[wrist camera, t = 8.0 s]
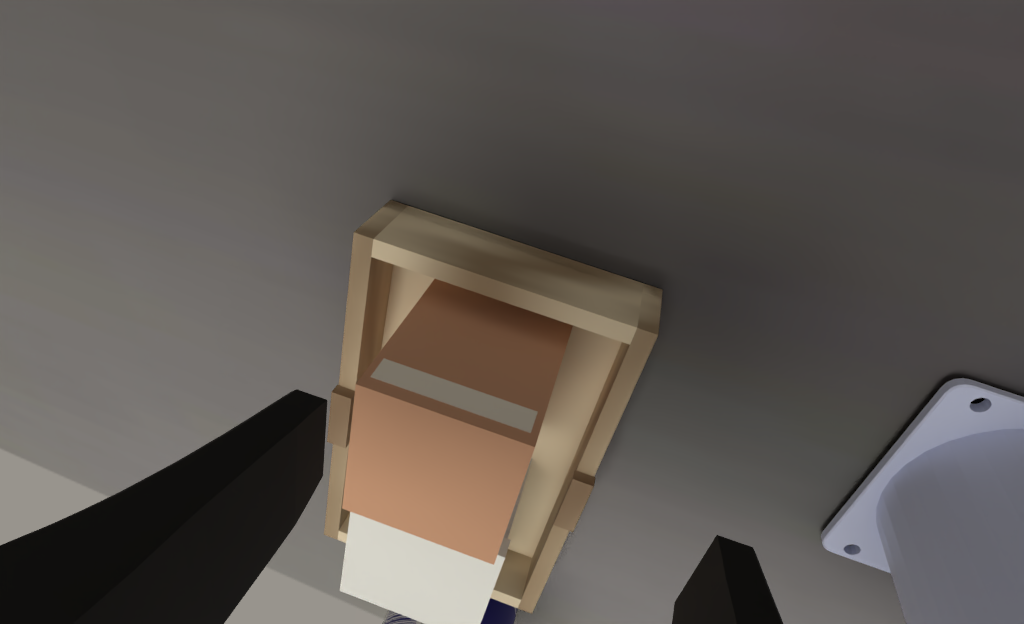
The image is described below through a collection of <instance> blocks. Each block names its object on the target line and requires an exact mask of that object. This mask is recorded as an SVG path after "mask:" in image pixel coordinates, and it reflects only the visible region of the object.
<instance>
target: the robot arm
mask: <svg viewBox="0 0 1024 624" xmlns="http://www.w3.org/2000/svg"><path fill="white" fill-rule="evenodd" d="M978 398H985V400H983V401H982V402H981V403H977V404H972V403H971V402H972V401H973V400H975V399H978ZM326 412H327V400H326V399H323V398H320V397H317V396H314V395H311V394H308V393H305V392H302V391H300V390H297V389H296V390H294V391H292V392H290V393H289V394H287V395H285V396H284V397H282V398H281V399H279V400H277V401H276V402H274V403H273V404H271V405H270V406H268V407H266V408H265V409H263V410H262V411H260V412H258V413H257V414H255V415H254V416H252V417H251V418H249V419H247V420H246V421H244V422H243V423H241V424H239V425H238V426H236V427H234V428H233V429H231V430H230V431H228V432H226V433H225V434H223V435H221V436H220V437H218V438H216V439H215V440H213V441H211V442H209V443H208V444H206V445H204V446H203V447H201V448H199V449H198V450H196V451H194V452H192V453H191V454H189V455H187V456H186V457H184V458H182V459H180V460H179V461H177V462H175V463H173V464H172V465H170V466H168V467H166V468H164V469H162V470H160V471H158V472H157V473H155V474H153V475H151V476H149V477H147V478H145V479H143V480H142V481H140V482H138V483H136V484H134V485H132V486H130V487H129V488H127V489H125V490H123V491H121V492H119V493H117V494H115V495H113V496H111V497H109V498H107V499H105V500H103V501H101V502H99V503H96V504H94V505H92V506H90V507H88V508H86V509H84V510H82V511H79V512H77V513H75V514H73V515H71V516H69V517H67V518H64V519H62V520H60V521H58V522H55V523H53V524H51V525H48V526H46V527H44V528H41V529H39V530H37V531H34V532H32V533H29V534H27V535H24V536H22V537H20V538H17V539H15V540H12V541H10V542H8V543H6V544H3V545H1V546H0V624H224V622H225V621H226V620H227V618H228V617H229V616H230V614H231V613H232V612H233V610H234V609H235V607H236V606H237V605H238V603H239V602H240V600H241V599H242V598H243V596H244V595H245V594H246V592H247V591H248V590H249V588H250V587H251V585H252V584H253V583H254V581H255V580H256V579H257V577H258V576H259V574H260V573H261V572H262V570H263V569H264V568H265V566H266V565H267V564H268V562H269V561H270V559H271V558H272V557H273V555H274V554H275V552H276V551H277V550H278V548H279V547H280V546H281V544H282V543H283V541H284V540H285V539H286V537H287V536H288V534H289V533H290V532H291V530H292V529H293V527H294V526H295V524H296V523H297V521H298V519H299V517H300V516H301V514H302V512H303V510H304V509H305V507H306V505H307V504H308V502H309V500H310V498H311V496H312V495H313V493H314V491H315V489H316V487H317V485H318V484H319V482H320V480H321V478H322V476H323V464H324V447H325V429H326ZM821 539H822V544H823V547H824V548H825V549H826V550H828V551H830V552H832V553H835V554H838V555H841V556H844V557H846V558H849V559H852V560H855V561H858V562H860V563H863V564H866V565H869V566H872V567H874V568H877V569H880V570H883V571H886V572H888V573H891V575H892V578H893V582H894V585H895V588H896V592H897V595H898V598H899V602H900V605H901V608H902V611H903V615H904V618H905V621H906V624H1024V397H1022V396H1019V395H1016V394H1013V393H1010V392H1007V391H1004V390H1001V389H998V388H995V387H992V386H989V385H986V384H983V383H980V382H977V381H973V380H970V379H965V378H958V379H953V380H950V381H948V382H946V383H945V384H944V385H943V386H942V387H941V388H940V389H939V390H938V391H937V393H936V394H935V395H934V396H933V398H932V399H931V400H930V401H929V402H928V404H927V405H926V406H925V407H924V408H923V410H922V411H921V412H920V413H919V415H918V416H917V417H916V418H915V419H914V421H913V422H912V423H911V424H910V426H909V427H908V428H907V429H906V430H905V432H904V433H903V434H902V435H901V437H900V438H899V439H898V440H897V441H896V443H895V444H894V445H893V446H892V447H891V449H890V450H889V451H888V452H887V454H886V455H885V456H884V457H883V458H882V460H881V461H880V462H879V463H878V465H877V466H876V467H875V468H874V469H873V471H872V472H871V473H870V474H869V475H868V477H867V478H866V479H865V480H864V482H863V483H862V484H861V485H860V486H859V488H858V489H857V490H856V491H855V493H854V494H853V495H852V496H851V497H850V499H849V500H848V501H847V502H846V504H845V505H844V506H843V507H842V508H841V510H840V511H839V512H838V513H837V514H836V516H835V517H834V518H833V519H832V521H831V522H830V523H829V524H828V525H827V527H826V528H825V529H824V530H823V532H822V534H821ZM851 544H853V545H851ZM849 545H851V546H849ZM672 624H783V622H782V619H781V617H780V614H779V612H778V609H777V607H776V604H775V602H774V599H773V597H772V594H771V592H770V589H769V587H768V584H767V581H766V579H765V576H764V574H763V571H762V569H761V566H760V563H759V561H758V558H757V556H756V553H755V551H754V549H753V547H750V546H747V545H744V544H741V543H738V542H736V541H733V540H730V539H727V538H724V537H721V536H718V535H717V536H716V538H715V539H714V541H713V542H712V544H711V545H710V547H709V549H708V550H707V552H706V553H705V555H704V557H703V558H702V560H701V561H700V563H699V565H698V566H697V568H696V569H695V571H694V573H693V574H692V576H691V577H690V579H689V581H688V582H687V584H686V585H685V587H684V588H683V590H682V592H681V593H680V595H679V596H678V598H677V600H676V601H675V605H674V613H673V621H672Z"/></svg>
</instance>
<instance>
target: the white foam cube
mask: <svg viewBox="0 0 1024 624" xmlns="http://www.w3.org/2000/svg"><path fill="white" fill-rule="evenodd" d="M531 462H532V458H531V460H530V463H529V466H528V469H527V472H526V475H525V477H524V480H523V483H522V486H521V489H520V492H519V495H518V497H517V500H516V503H515V506H514V509H513V512H512V515H511V517H510V520H509V523H508V526H507V529H506V532H505V535H504V538H503V540H502V543H501V546H500V549H499V552H498V555H497V558H496V560H495V563H494V565H493V564H490V563H487V562H485V561H482V560H479V559H477V558H474V557H471V556H469V555H466V554H463V553H460V552H458V551H455V550H452V549H450V548H447V547H444V546H442V545H439V544H436V543H434V542H431V541H428V540H425V539H423V538H420V537H417V536H415V535H412V534H409V533H407V532H404V531H401V530H399V529H396V528H393V527H390V526H388V525H385V524H382V523H380V522H377V521H374V520H372V519H369V518H366V517H364V516H361V515H358V514H355V513H353V512H350V518H349V526H348V533H347V541H346V549H345V556H344V564H343V571H342V579H341V586H340V591H342V592H344V593H347V594H350V595H352V596H355V597H357V598H360V599H362V600H365V601H368V602H370V603H373V604H375V605H378V606H380V607H383V608H386V609H388V610H391V611H393V612H396V613H398V614H401V615H404V616H406V617H409V618H411V619H414V620H416V621H419V622H422V623H424V624H481V621H482V618H483V616H484V613H485V610H486V608H487V605H488V602H489V600H490V597H491V594H492V592H493V589H494V586H495V584H496V581H497V579H498V576H499V573H500V571H501V568H502V565H503V563H504V560H505V557H506V554H507V550H508V547H509V544H510V541H511V540H510V539H508V536H509V533H510V530H511V526H512V523H513V520H514V517H515V514H516V510H517V507H518V504H519V501H520V497H521V494H522V491H523V488H524V484H525V481H526V478H527V475H528V472H529V468H530V465H531Z"/></svg>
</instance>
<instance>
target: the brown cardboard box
mask: <svg viewBox="0 0 1024 624" xmlns="http://www.w3.org/2000/svg"><path fill="white" fill-rule="evenodd" d="M572 327H573V325H570V324H567V323H564V322H561V321H558V320H555V319H553V318H550V317H547V316H544V315H541V314H538V313H535V312H532V311H529V310H526V309H523V308H520V307H517V306H514V305H511V304H508V303H505V302H502V301H500V300H497V299H494V298H491V297H488V296H485V295H482V294H479V293H476V292H473V291H470V290H467V289H464V288H461V287H458V286H455V285H452V284H449V283H447V282H444V281H441V280H438V279H434V280H433V282H432V283H431V284H430V286H429V287H428V288H427V290H426V291H425V292H424V294H423V295H422V296H421V298H420V299H419V300H418V302H417V303H416V304H415V306H414V307H413V308H412V310H411V311H410V312H409V314H408V315H407V316H406V318H405V319H404V320H403V322H402V323H401V324H400V326H399V327H398V328H397V330H396V331H395V332H394V334H393V335H392V336H391V338H390V339H389V340H388V342H387V343H386V344H385V346H384V347H383V348H382V350H381V351H380V352H379V354H378V355H377V356H376V358H375V359H374V360H373V362H372V363H371V364H370V366H369V367H368V368H367V370H366V371H365V372H364V374H363V375H362V376H361V378H360V379H359V380H358V382H357V383H356V386H355V395H354V405H353V414H352V423H351V432H350V441H349V450H348V459H347V468H346V478H345V487H344V496H343V505H342V509H345V510H347V511H350V512H353V513H355V514H358V515H361V516H364V517H366V518H369V519H372V520H374V521H377V522H380V523H382V524H385V525H388V526H390V527H393V528H396V529H399V530H401V531H404V532H407V533H409V534H412V535H415V536H417V537H420V538H423V539H425V540H428V541H431V542H434V543H436V544H439V545H442V546H444V547H447V548H450V549H452V550H455V551H458V552H460V553H463V554H466V555H469V556H471V557H474V558H477V559H479V560H482V561H485V562H487V563H490V564H493V565H494V563H495V560H496V558H497V555H498V552H499V549H500V546H501V543H502V540H503V538H504V535H505V532H506V529H507V526H508V523H509V520H510V517H511V515H512V512H513V509H514V506H515V503H516V500H517V497H518V495H519V492H520V489H521V486H522V483H523V480H524V477H525V475H526V472H527V469H528V466H529V463H530V460H531V457H532V454H533V452H534V449H535V446H536V443H537V439H538V436H539V433H540V430H541V426H542V423H543V420H544V417H545V414H546V410H547V407H548V404H549V401H550V398H551V394H552V391H553V388H554V385H555V382H556V378H557V375H558V372H559V369H560V366H561V362H562V359H563V356H564V353H565V350H566V346H567V343H568V340H569V337H570V333H571V330H572Z"/></svg>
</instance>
